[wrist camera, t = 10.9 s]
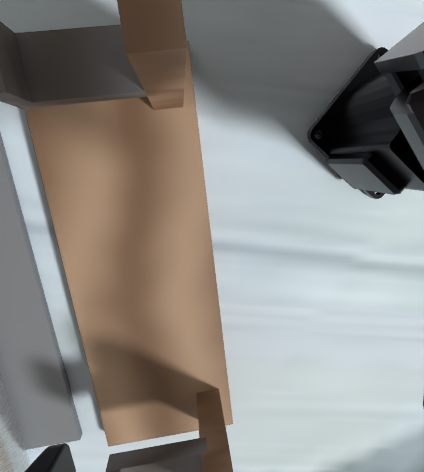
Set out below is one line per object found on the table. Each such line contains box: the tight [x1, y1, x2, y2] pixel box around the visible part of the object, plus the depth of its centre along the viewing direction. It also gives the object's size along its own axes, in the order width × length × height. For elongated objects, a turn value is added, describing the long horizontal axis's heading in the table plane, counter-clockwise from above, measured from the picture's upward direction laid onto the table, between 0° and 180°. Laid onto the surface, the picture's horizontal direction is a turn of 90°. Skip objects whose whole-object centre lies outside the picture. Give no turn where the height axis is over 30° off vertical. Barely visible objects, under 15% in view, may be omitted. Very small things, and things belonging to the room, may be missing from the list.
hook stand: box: [0, 0, 233, 472], centre depth 15 cm, size 9×25×10 cm, turn 6°
